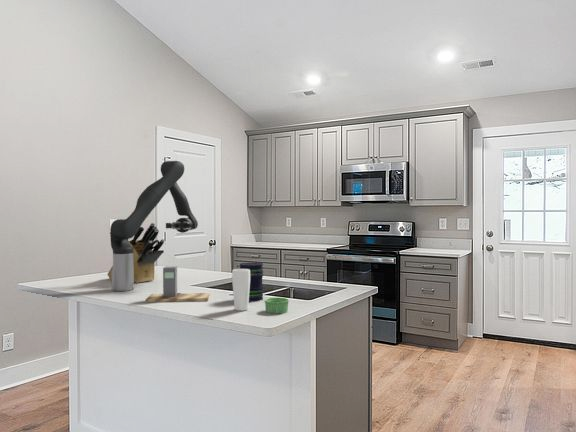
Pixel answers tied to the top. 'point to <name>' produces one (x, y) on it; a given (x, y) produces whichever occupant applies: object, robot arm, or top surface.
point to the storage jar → (255, 280)
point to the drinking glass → (241, 288)
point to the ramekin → (276, 305)
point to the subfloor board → (179, 297)
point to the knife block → (144, 254)
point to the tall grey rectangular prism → (169, 281)
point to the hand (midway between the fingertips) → (179, 226)
